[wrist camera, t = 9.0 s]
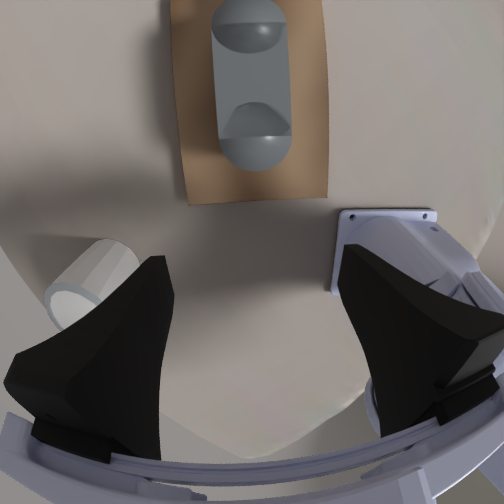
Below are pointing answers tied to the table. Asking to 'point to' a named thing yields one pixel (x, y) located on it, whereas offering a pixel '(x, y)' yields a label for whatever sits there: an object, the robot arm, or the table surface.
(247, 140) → the connector plug
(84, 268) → the white cup
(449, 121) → the table surface
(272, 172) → the walnut board
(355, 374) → the table surface
